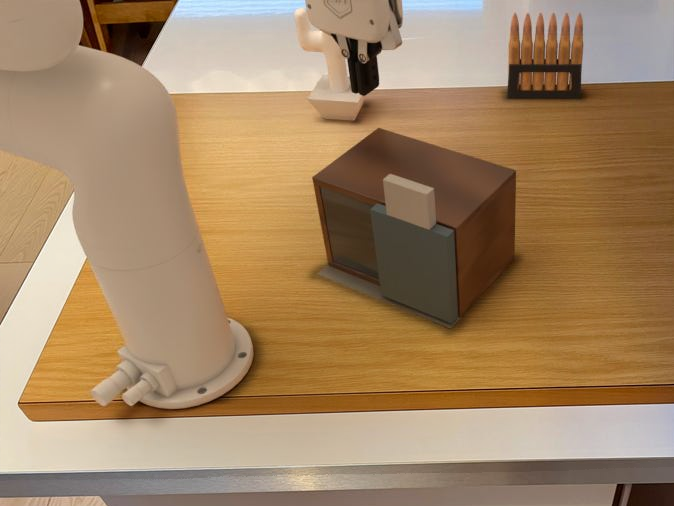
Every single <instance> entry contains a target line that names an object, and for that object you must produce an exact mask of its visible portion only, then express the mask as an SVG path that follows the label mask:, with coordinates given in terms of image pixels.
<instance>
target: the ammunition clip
mask: <svg viewBox="0 0 674 506" xmlns="http://www.w3.org/2000/svg"><path fill="white" fill-rule="evenodd" d="M575 19H576V20H575V23H574V30H573V37H572V41H571V21H570V16H569V13H568V12H566V13H564V16H563V19H562V23H561V30H560V39H559V42H558V21H557V17H556V14H555V12H552V13H551V16H550V19H549V22H548V29H547V40H546V39H545V21H544V16H543V13H542V12H539V14H538V16H537V18H536V23H535V34H534V40H533V28H532V18H531V15H530V13H529V12H527V13H526V14H525V17H524V20H523V26H522V39H520V23H519V22H520V21H519V18H518V15H517V12H514V13H513V15H512V18H511V21H510V33H509V42H508V61H507V62H508V64H507V65H508V67H507V69H508V71H507V90H506V91H507V92H506V97H507V98H508V99H576V100H577V99H581V98H582V72H583V71H582V70H583V57H584V21H583V15H582V13H581V12H579V13H578V14H577V15H576V18H575ZM533 41H534V42H533Z"/></svg>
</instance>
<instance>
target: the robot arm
mask: <svg viewBox="0 0 674 506" xmlns="http://www.w3.org/2000/svg"><path fill="white" fill-rule="evenodd" d="M304 4H305V9H306V11H307V15H308V19H309V23H310V25H312V26H313V27H314V28H316V29H317V30H319V31H322V32H324V33H326V34H328V35H329V36H332V37H333V39H334V40H335V41H336V43H337V44H338V45H339V47H340V51H341V54H342V56H343V57H344V58H345V60H346V61H347V62H346V63H347V67H348V69H347V70H348V75H349V77H350V84H351V91H352V93H356V94H357V93H359V94H360V95H362V96H365V95H366V96H367V95H368V94H370V93H371V92H373V91H374V90H376V89H377V88H378V87H379V86H380V73H379V63H378V56H379V55H380V54H381V53H382V51H394V50H396V49H398V48H399V47H401V46H402V45H403V39H402V36H401V32H400V29H401V28H402V27H403V21H404V8H403V0H304ZM83 13H84V12H83V7H82V4H81V1H80V0H0V151H2V152H5V153H8V154H10V155H12V156H15V157H18V158H19V157H20V158H23V159H25V160H29V161H31V162H35V163H37V164H41V165H43V166H45V167H47V168H50V169H53V170H56V171H58V172H61V173H62V174H63V175H65V176H66V178H68V180H69V182H70V183H71V186H72V188H73V202H72V203H73V204H72V212H71V213H72V223H73V228H74V231H75V234H76V237H77V239H78V241H79V244H80V246H81V249H82V251H83V253H84V255H85V257H86V259H87V260H88V263H89V266H90V268H91V270H92V272H93V274H94V277H95V279H96V281H97V283H98V285H99V288H100V290H101V292H102V294H103V298H104V299H105V301H106V303H107V306H108V308H109V310H110V313H111V315H112V316H113V319H114V322H115V323H116V324H115V325H116V326H117V329H118V330H119V333H120V335H121V337H122V340H123V342H124V345H123V346H122V347H120V348H119V349H118V350H117V351H116V353H117V355H118V357H119V359H120V363H118V364H117V365H116V366H115V367H114V371H115V372H114V373H112V374H111V375H109V377H107V378H105V379H103V380H102V381H100V382H99V383H98V384H97V385H95V386H94V387H93V388H92V389H90V390H89V394H90V396H91V398H93V400H94V401H95V402H96V403H98V404H99V405H100V406H101V407H106V406H107V405H109V404H110V403H111V402H112V401H114V400H115V399H116V398H117V397H118V396H120V395H121V399H122V400H123V401H124V403H125V404H127V405H128V406H129V407H133V406H134V405H135V404H136V403H138V402H141V403H142V404H145V405H147V406H149V407H153V408H157V409H167V410H176V409H187V408H191V407H198V406H200V405H204V404H206V403H209V402H212V401H214V400H215V399H218V398H220V397H221V396H224V395H225V394H226V393H228V392H229V391H231V390H232V389H233V388H235V386H236V385H238V384H239V383H240V382H241V381H242V380H243V379H244V377H245V376H246V375H247V374H248V372H249V369H250V368H251V366H252V363H253V359H254V345H253V341H252V338H251V335H250V333H249V332H248V330H247V329H246V328H245V327H244V325H242V324H241V323H240V322H238V321H236V320H235V319H233V318H231V317H228V315H227V312H226V309H225V305H224V302H223V299H222V296H221V292H220V289H219V287H218V283H217V280H216V275H215V273H214V270H213V268H212V267H213V266H212V264H211V261H210V258H209V254H208V251H207V248H206V245H205V244H206V243H205V242H204V239H203V235H202V232H201V229H200V226H199V222H198V220H197V217H196V213H195V210H194V207H193V204H192V203H193V202H192V201H191V197H190V193H189V190H188V186H187V182H186V178H185V173H184V168H183V167H184V166H183V160H182V152H181V138H180V137H181V136H180V125H179V117H178V114H177V108H176V105H175V103H174V100H173V98H172V96H171V94H170V93H169V91H168V89H167V88H166V87H165V85H164V84H163V83H162V81H161V80H159V78H157V77H156V76H155V75H154V74H153V73H152V72H150V71H149V70H148V69H146V68H145V67H143V66H141V65H140V64H138V63H137V62H134V61H132V60H129V59H128V58H126V57H123V56H120V55H117V54H114V53H110V52H106V51H103V50H99V49H96V48H91V47H88V46H84V45H81V44H80V42H81V39H82V35H83V29H84V14H83ZM366 96H365V97H366ZM125 389H126V391H125V392H123V391H124V390H125ZM122 392H123V393H122ZM121 393H122V394H121Z"/></svg>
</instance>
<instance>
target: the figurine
mask: <svg viewBox="0 0 674 506" xmlns="http://www.w3.org/2000/svg"><path fill="white" fill-rule="evenodd" d="M294 22H295V29H296V34H297V39H298V43H299V45H300V47H301V49H302V50H303V51H305V52H309V53H310V52H311V53H322V54H324V55H325V60H326V66H327V74H322V75H321V77H320V79H318V81H317V83H316V84H315V86H314V87H313V89H312V91H311V92H310V93H309V95H308V97H307V98H306V100H307V101H308V102H309V103H310V104H311V105H312V107H313V108H314V109H315V110H316V111H317V112H318V113H319V115H320V116H321V117H322V118H323V119H325V120H327V119H328V120H339V121H352V122H353V121H355V120H356V118H357V117H358V114H359V112H360V111H361V109H362V107H363V105H364V103H365V99H366V96H367V95H365V96H362V95H360V94H359V93H357V94H356V93H352V91H351V84H350V77H349V76H348V75H349V74H348V69H347V62H346V61H347V59H346V58H344V57H343V56H342V54H341V51H340V47H339V45H338V44H337V43H336V41H335V40H334V39H333V37H332V36H329V35H328V34H326V33H324V32H322V31H320V30H319V29H316V30H315V29H313V28H312V26H311V23H310V21H309V19H308V15H307V10H306V8H304V7H299V8H297V9H295V11H294Z"/></svg>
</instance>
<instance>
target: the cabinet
mask: <svg viewBox="0 0 674 506" xmlns="http://www.w3.org/2000/svg"><path fill="white" fill-rule="evenodd" d="M389 174H392V175H395V176H398V177H401V178H404V179H407V180H410V181H413V182H416V183H419V184H422V185H425V186H428V187H431V188H434V197H435V213H436V224H438V225H440V226H443V227H446V228H449V229H452V230H454V241H455V262H456V284H457V306H458V318H457V319H456V320H455V321H454V322H453V323H452V324H451V323H449V322H446V321H444V320H441V319H439V318H436V317H434V316H431V315H429V314H426V313H424V312H421V311H419V310H416V309H414V308H411V307H409V306H406V305H404V304H401V303H399V302H397V301H394V300H392V299H389V298H387V297H384V296H382V295H381V288H380V280H379V273H378V265H377V257H376V250H375V242H374V235H373V227H372V219H371V212H370V209H371V208H372V207H373V206H375V205H376V204H377V203H378V204H381V205H384V206H386V203H385V194H384V185H383V179H384V178H385V177H387V176H388V175H389ZM311 179H312V184H313V189H314V195H315V200H316V206H317V211H318V216H319V222H320V227H321V228H320V229H321V232H322V238H323V243H324V250H325V254H326V260H327V265H326V266H325V267H323V268H322V269H321V270H320V271H319V272H318V273H317V276H319V277H321V278H324V279H327V280H328V281H332V282H334V283H336V284H339V285H341V286H344V287H346V288H349V289H352V290H354V291H356V292H358V293H361V294H363V295H366V296H368V297H371V298H373V299H376V300H379V301H380V302H383V303H386V304H388V305H391V306H393V307H396V308H398V309H400V310H403V311H405V312H408V313H410V314H413V315H416V316H417V317H420V318H422V319H425V320H427V321H430V322H432V323H434V324H436V325H438V326H441V327H444V328H447V329H448V330H452V328H453V327H454V326H455V325H456V324H457V323H458V322H459V321H460V320H461V318H462V317H463V316H465V314H466V313H467V312H468V311H469V310H470V309H471V308H472V306H473V305H474V304H475V303H476V302H477V301H478V300H479V299H480V297H482V296H483V294H484V293H486V291H487V290H488V289H489V288H490V287H491V286H492V284H493V283H494V282H495V281H496V280H497V279H498V278H499V277H500V276H501V275H502V273H504V271H505V270H506V269H507V268H508V267H509V266H510V265H511V264H512V263H513V261H514V260H515V257H516V254H515V253H516V251H515V250H516V203H517V201H516V199H517V198H516V197H517V196H516V195H517V170H515V169H514V168H510V167H506V166H503V165H500V164H497V163H494V162H492V161H488V160H484V159H482V158H478V157H475V156H471V155H468V154H466V153H465V154H464V153H462V152H458V151H455V150H452V149H449V148H446V147H443V146H439V145H436V144H433V143H429V142H427V141H423V140H421V139H418V138H417V139H416V138H413V137H410V136H407V135H405V134H404V135H403V134H400V133H398V132H394V131H391V130H388V129H384V128H381V127H377V128H375V130H373V131H372V132H371V133H369V134H368V135H367V136H365V137H364V138H363V139H361V140H360V141H359V142H357V143H356V144H355V145H353V146H352V147H350V148H349V149H348V150H347V151H345V152H344V153H342V154H341V155H340V156H339V157H337V158H336V159H334V160H333V161H332V162H331V163H329V164H328V165H327V166H325V167H324V168H323V169H321V170H319V172H316V173H315V174H314V175H313V176H312V177H311Z"/></svg>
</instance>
